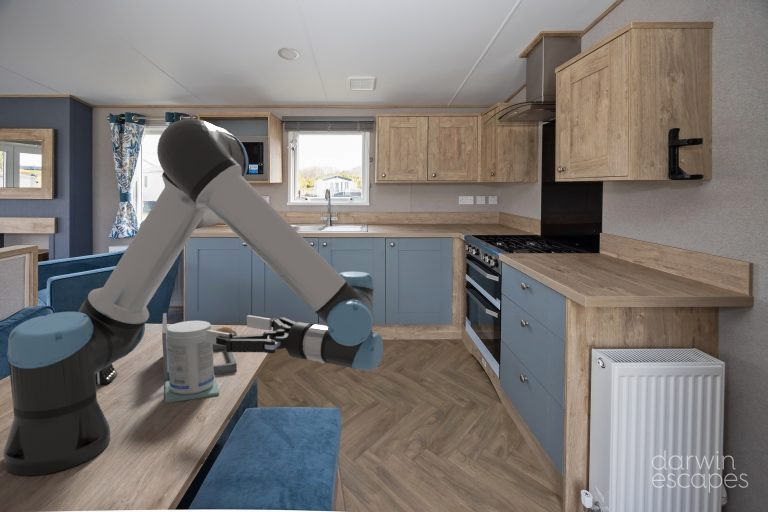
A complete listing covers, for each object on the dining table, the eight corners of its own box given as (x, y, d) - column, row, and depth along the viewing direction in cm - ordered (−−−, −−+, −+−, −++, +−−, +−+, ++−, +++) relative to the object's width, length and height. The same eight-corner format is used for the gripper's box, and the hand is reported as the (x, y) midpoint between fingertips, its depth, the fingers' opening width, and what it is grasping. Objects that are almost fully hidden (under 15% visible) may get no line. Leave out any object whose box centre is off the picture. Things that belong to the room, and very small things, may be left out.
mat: (165, 403, 98) (165, 400, 98) (165, 384, 108) (165, 381, 108) (218, 394, 103) (218, 392, 103) (214, 377, 113) (214, 374, 113)
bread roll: (207, 336, 147) (207, 325, 146) (234, 333, 151) (234, 322, 150) (212, 346, 138) (211, 334, 137) (240, 342, 141) (240, 331, 141)
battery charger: (112, 385, 107) (109, 338, 106) (94, 386, 106) (91, 339, 105) (122, 373, 114) (119, 329, 112) (105, 374, 113) (102, 330, 112)
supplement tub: (209, 376, 112) (207, 318, 110) (218, 390, 104) (216, 327, 102) (166, 384, 107) (163, 323, 105) (172, 399, 99) (169, 334, 97)
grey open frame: (164, 381, 110) (162, 333, 108) (165, 354, 128) (163, 313, 126) (236, 371, 117) (235, 326, 116) (227, 347, 135) (226, 308, 133)
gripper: (277, 379, 85) (188, 361, 92) (336, 342, 108) (261, 330, 115) (277, 341, 84) (187, 325, 91) (337, 311, 107) (262, 301, 115)
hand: (228, 328), depth 103 cm, fingers open, 13 cm apart
